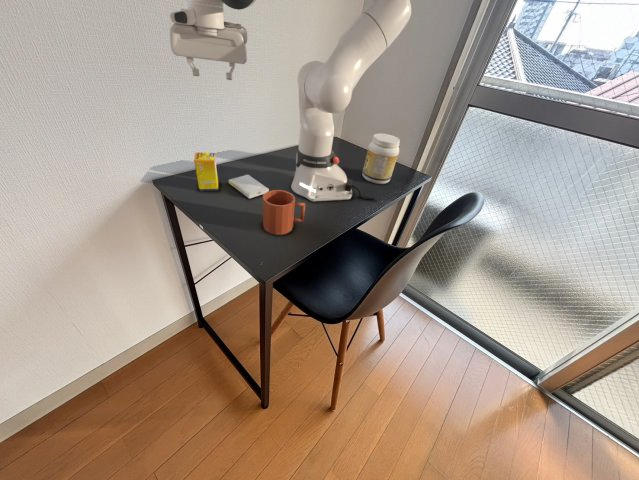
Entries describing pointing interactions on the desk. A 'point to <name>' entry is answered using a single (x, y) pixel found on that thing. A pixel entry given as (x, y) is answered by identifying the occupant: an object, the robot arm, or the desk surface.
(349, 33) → the robot arm
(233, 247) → the desk surface
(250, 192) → the hard drive
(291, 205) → the mug
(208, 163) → the supplement box
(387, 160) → the supplement tub
